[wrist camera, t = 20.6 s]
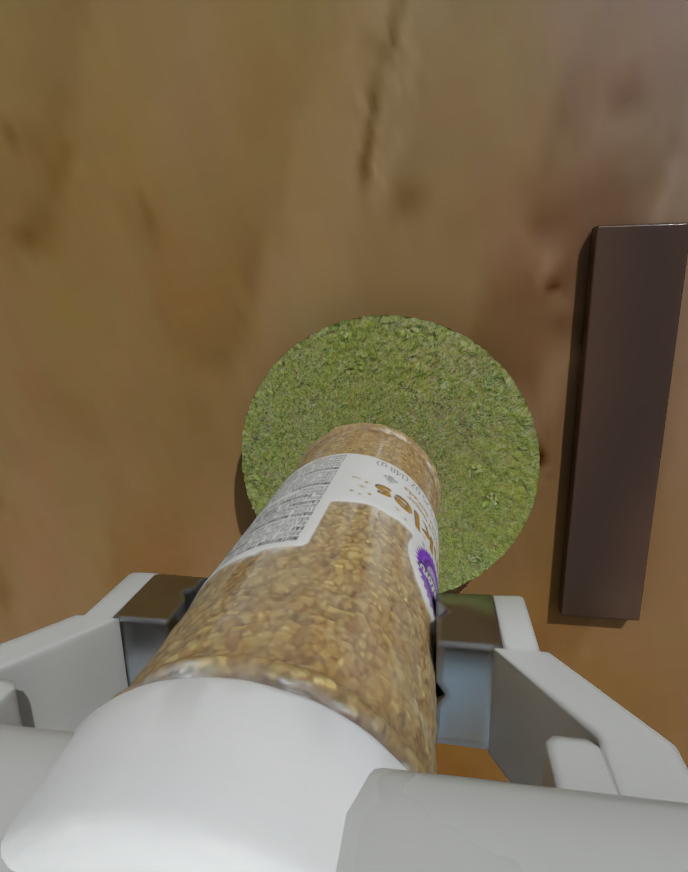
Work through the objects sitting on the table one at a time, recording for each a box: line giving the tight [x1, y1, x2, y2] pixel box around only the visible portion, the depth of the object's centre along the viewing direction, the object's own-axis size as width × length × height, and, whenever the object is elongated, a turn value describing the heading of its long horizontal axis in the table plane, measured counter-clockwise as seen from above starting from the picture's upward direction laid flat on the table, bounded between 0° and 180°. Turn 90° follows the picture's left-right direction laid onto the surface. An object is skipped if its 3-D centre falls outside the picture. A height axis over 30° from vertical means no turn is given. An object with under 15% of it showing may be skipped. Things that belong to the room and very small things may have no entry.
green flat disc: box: [241, 315, 540, 593], centre depth 21 cm, size 11×11×2 cm
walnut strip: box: [559, 223, 688, 620], centre depth 20 cm, size 3×15×1 cm, turn 1°
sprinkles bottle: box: [1, 423, 441, 872], centre depth 11 cm, size 5×5×14 cm
